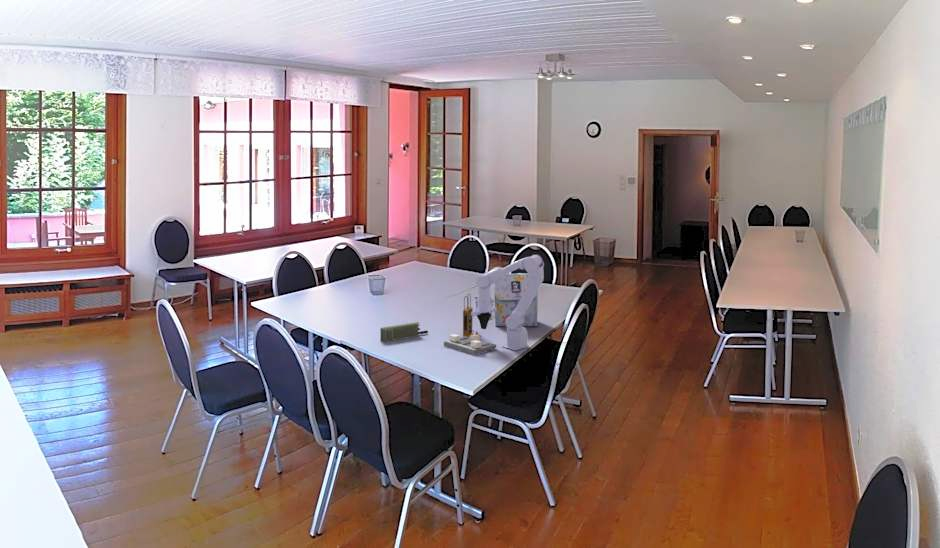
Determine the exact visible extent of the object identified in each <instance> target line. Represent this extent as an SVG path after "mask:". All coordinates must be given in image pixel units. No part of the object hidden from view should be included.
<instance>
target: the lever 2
mask: <svg viewBox="0 0 940 548" xmlns="http://www.w3.org/2000/svg"><path fill="white" fill-rule="evenodd" d="M471 347H473V348H480V347H481V342H480V341H477V340H474V341H471Z"/></svg>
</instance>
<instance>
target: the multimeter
mask: <svg viewBox="0 0 940 548" xmlns="http://www.w3.org/2000/svg"><path fill="white" fill-rule="evenodd" d="M469 298H470V300H469ZM465 299H467V300H466V301H467V304H463V310H462V337H464V336H468V337H470V336H471V335H472V334H473V316H471V311H474V310H473V309H474V307H471V306H472V305H471V304H472V303H471V302H472V300H471V299H472V295H471V294H470V293H467V296H466V295H465V296H464V298H463V302H465ZM465 305H466V307H465ZM471 333H472V334H471ZM475 335H479V336H480V337H482V338H484V337H483V335H480V334H478V331H476V332H475Z"/></svg>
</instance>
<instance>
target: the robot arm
mask: <svg viewBox="0 0 940 548" xmlns="http://www.w3.org/2000/svg"><path fill="white" fill-rule="evenodd" d="M544 267H545V263H544V261H543V258H542V257H541V255H539V254H532V255H531V256H526V257H523V258H521V259H518V260H516V261H515V262H513V263H510V264H508V265H506V266H504V267H501V266H496V267H493V269H491V270H490V271H485V272H484V273H483V274H480V275H479V276H478V277H477V278H476V281H475V282H476V285H477V290H478V291H477V308H476V309H474V310H473V311H471V316H472V317H476V318H477V319H478V322H479V325H480V329H482V330H486V329H487V327H488V324H489V321H490V319H491V317H492V312H494V313H495V311H496V307H495V306H491V286H492V284H493V285H494V284H495V282H497V281H500V280H502V279H504V278H505V275H506V274H511V273H512V272H514V271H517V270H525V271H526V272H527V274H529V275H530V277H531V281H530V283H529V284H528V286H527V288H526V290H525V292H524V294H523V296H522V297H521V299H520V301H519V303H518V305H517V307H516V308H515V310H514V311H513V312H512V314H511V315H510V316H509V317H508V318H507V319H506V321H505V324H506V326H505V327H506V345H505V344H504V345H503V346H502V347H503V348H505V349H508V348H509V350H511V351H518V350H522V349H525V348H528V347H529V346H530V345H528V330H527V329H526V327H525V326H522V324H523V323H524V320H525V315H526V311H527V309H528V307H529V305H530V304H531V302H532V300H533V298H534V296H535V294H536V293H537V291H538V292H539V288H540V287H541V285H542V284H543V282H544V278H545V276H544V275H545V274H544Z"/></svg>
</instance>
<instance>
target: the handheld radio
mask: <svg viewBox="0 0 940 548" xmlns="http://www.w3.org/2000/svg"><path fill="white" fill-rule="evenodd" d="M428 333H429V331H428V330H422V331H421V329H420V322H419V321H417V322H416V321H415V322H410V323H404V324H398V325H397V324H396V325H391V326H390V325H389V326H384V327H380V342H382V341H384V342H388V341H387V340H390V341H394V340H393V339H396V340H401V339H400V338H403V339H407V338H406V337H409V338H414V337H413V336H415V337H418V336H419V335H424V334H428Z"/></svg>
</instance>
